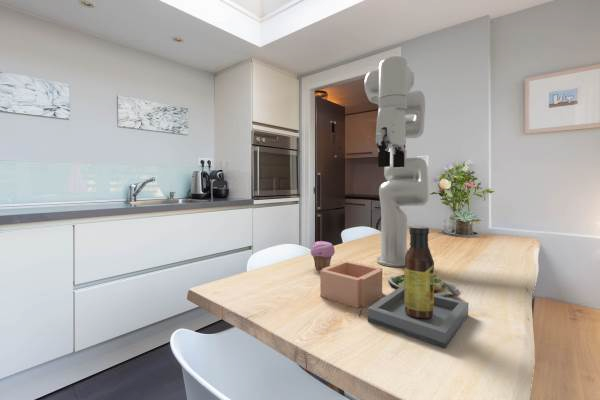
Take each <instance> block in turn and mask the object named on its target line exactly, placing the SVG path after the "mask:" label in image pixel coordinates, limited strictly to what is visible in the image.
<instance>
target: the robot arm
mask: <svg viewBox="0 0 600 400" xmlns="http://www.w3.org/2000/svg"><path fill="white" fill-rule="evenodd" d="M414 74H415V73H414V71H412V69H411V68H410V67H409V66H408V62H407V59H406V58H405V57H402V56H399V55H397V56H396V55H395V56H389V57H386V58H383V60H381V61H380V62H379V65H378V69H375V70H374V69H373V70H371V71H369V72H368V73H367V74H366V75H365V78H364V83H363V84H364V91H365V94H366V97H367V99H368V101H369V102H371V103H372V104H375V105H378V110H377V117H376V128H375V130H376V131H375V144H376V146H377V152H378V153H377V155H378V156H377V162H378V163H377V164H378V165H377V166H378V168H383V170H384V171H383V175H384V178H385V180H386V181H384V182H382V183H381V184H380V186H379V188H378V195H379V203H380V256H377V258H376V263H378V264H380V265H383V266H387V267H395V268H398V267H399V268H400V267H401V268H402V267H405V255H406V253H407V251H408V250H409V249H407V248H408V217H407V214H406V213H405V212H404V211H403V210H402V208H401V207H422V206H425V205H426V204H427V203H428V201H429V176H428V174H429V173H428V165H427V162H426V160H425V159H424V158H421V157H407V150H406V143H407V142H406V141H407V139H416V138H417V139H418V138H420V137H421V136H422V135H423V134H424V130H425V117H426V114H425V113H426V98H425V95H424V92H422V91H421V90H412V88H413V87H414V85H415V75H414ZM406 115H414V116H408V117H406Z"/></svg>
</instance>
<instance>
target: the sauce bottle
mask: <svg viewBox="0 0 600 400" xmlns="http://www.w3.org/2000/svg"><path fill="white" fill-rule="evenodd" d="M408 229H409V235H410V236H409V237H410V240H409V241H410V242H409V248H408V249H407V250H408V251H407V253H406V255H405V266H404V268H403V271H404V272H403V275H404V305H405V312H406V313H407V314H408V315H410V316H412V317H415V318H421V319H427V318H430V317H432V315H433V309H434V275H435V261H434V259H433V256H432V253H431V249H430V247H429V233H430V228H429V226H424V225H423V226H422V225H413V226H409V228H408Z"/></svg>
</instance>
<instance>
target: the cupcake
mask: <svg viewBox="0 0 600 400" xmlns="http://www.w3.org/2000/svg"><path fill="white" fill-rule="evenodd" d="M335 253H336V251H335V247H334V244H333V243H331V242H328V241H323V240H320V241H315V242H314V243H313V244H312V246H311V249H310V255H311V257H313V260H314V261H313V262H314V267H315V269H316V270H317V271H321V270H322V269H323V268H326V267H328V266H331V261H332V257H333V256H334V254H335Z"/></svg>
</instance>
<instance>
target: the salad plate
mask: <svg viewBox="0 0 600 400" xmlns="http://www.w3.org/2000/svg"><path fill="white" fill-rule="evenodd" d="M387 279H388V280H387V281H388V284H389V285H390V286H391V287H392V288H394V289H395V290H396V289H398V288H399V287H401V286H402V287H404V274H399V275H392V276H389V277H388V278H387ZM457 289H458V288H457V285H456V284H455V283H452V282H450V281H446V280H443V279H441V278H439V277H438V276H437V275H435V274H434V294H435V295H439V296H443V297H450V296H454V297H455V296H456V297H460V293H459V292H458V291H457Z"/></svg>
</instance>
